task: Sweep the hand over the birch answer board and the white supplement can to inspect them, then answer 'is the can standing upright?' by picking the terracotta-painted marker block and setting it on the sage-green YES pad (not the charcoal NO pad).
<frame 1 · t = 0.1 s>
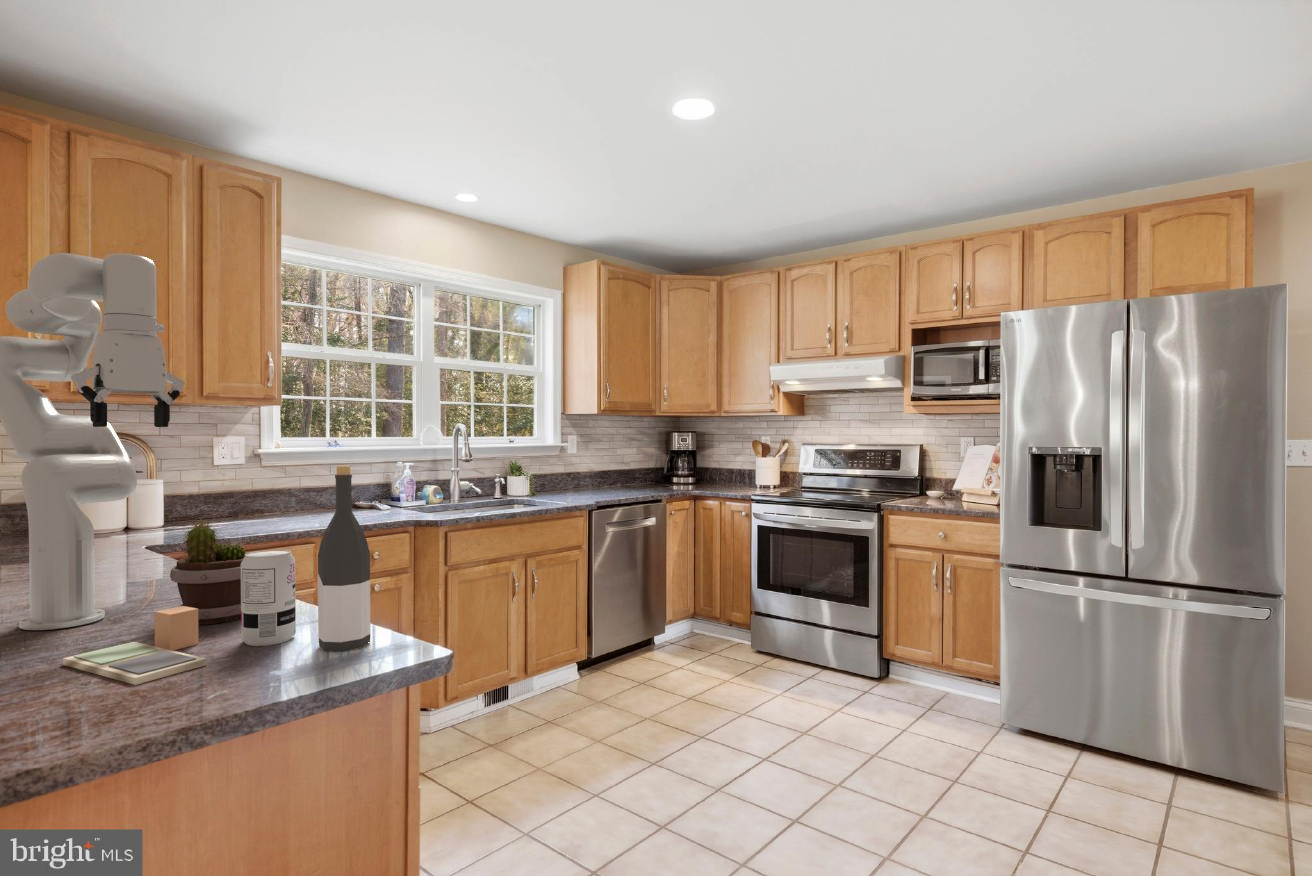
hand: (131, 426, 126), 37 cm above the counter, tool pointing down, fingers open, 9 cm apart
supplement can: (268, 641, 126), on the counter
flowerpot: (216, 619, 141), on the counter
answer board: (134, 664, 112), on the counter
wine bottle: (344, 646, 123), on the counter
marker block: (176, 645, 123), on the counter
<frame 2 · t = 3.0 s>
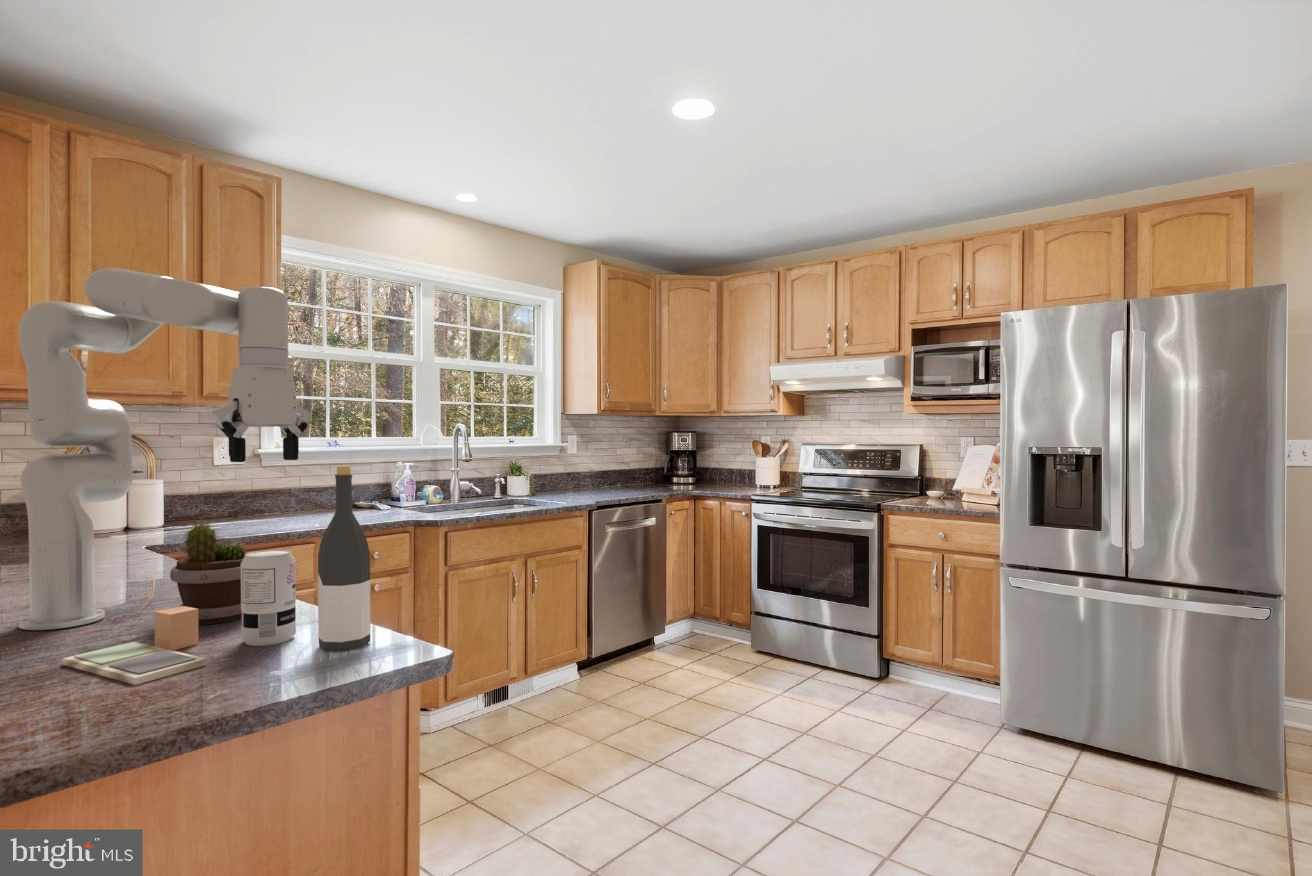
hand: (265, 460, 125), 31 cm above the counter, tool pointing down, fingers open, 9 cm apart
nothing on the counter moved.
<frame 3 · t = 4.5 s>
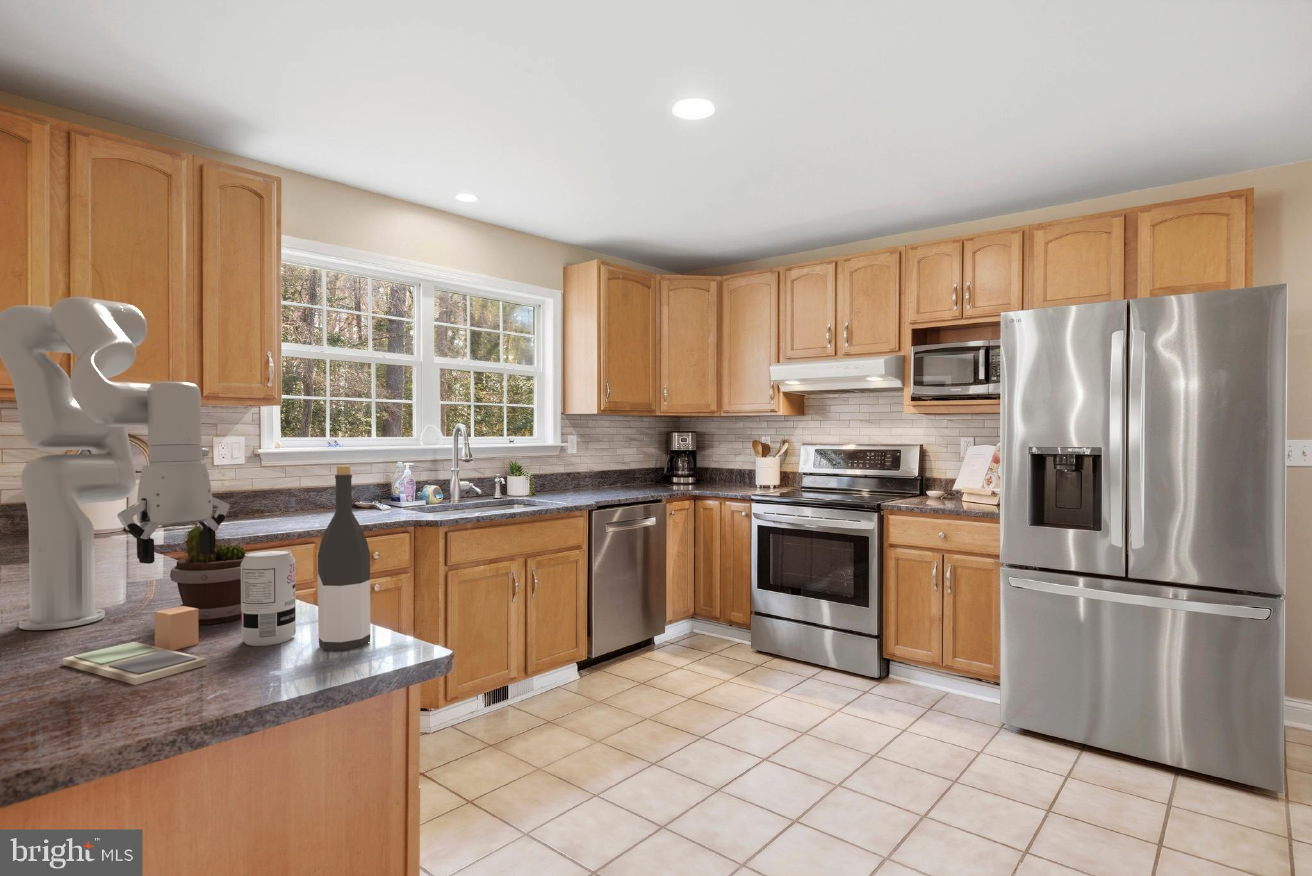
hand: (177, 558, 122), 15 cm above the counter, tool pointing down, fingers open, 9 cm apart
nothing on the counter moved.
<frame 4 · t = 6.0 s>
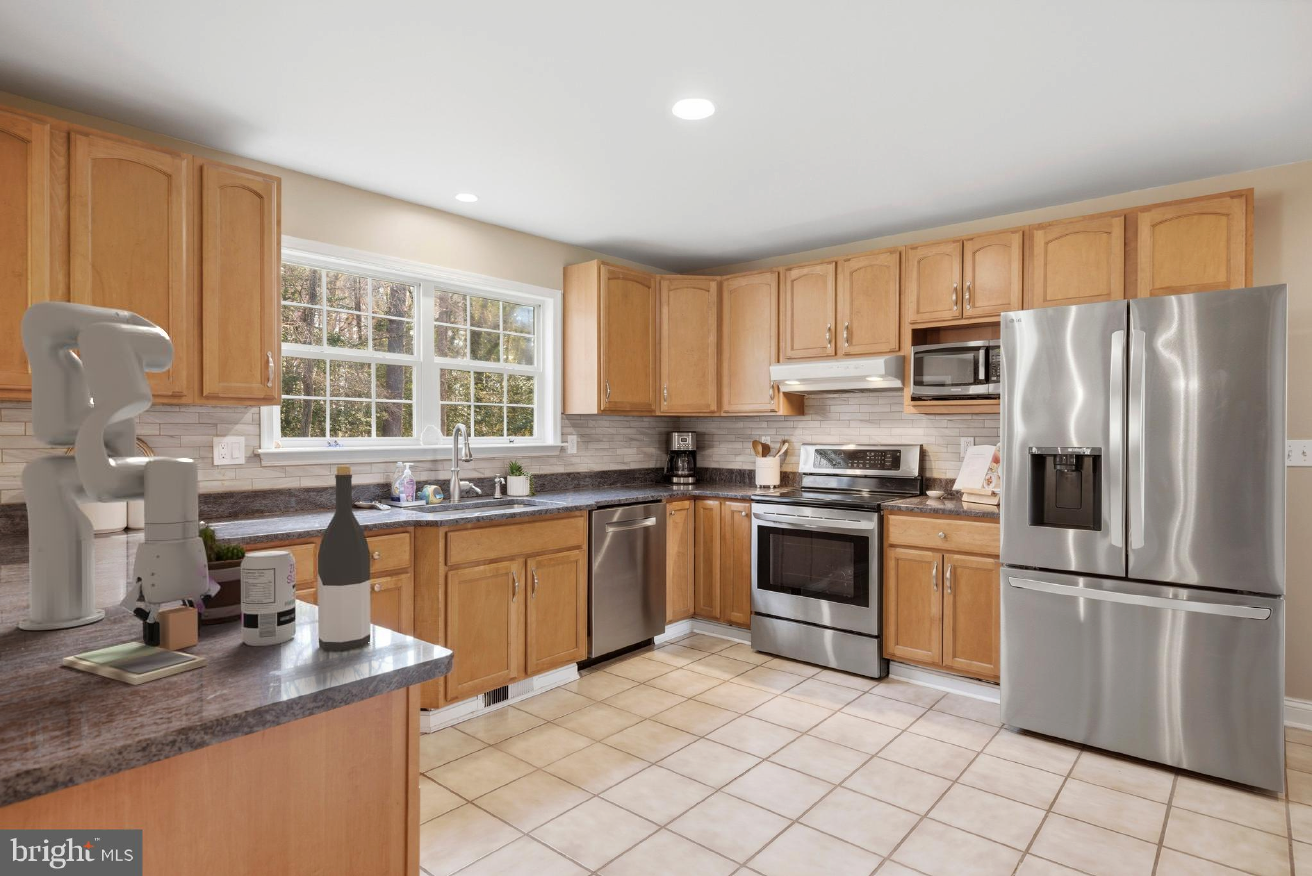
hand: (173, 639, 122), 1 cm above the counter, tool pointing down, fingers open, 5 cm apart
marker block: (176, 645, 123), on the counter, touching gripper
everything else where it was.
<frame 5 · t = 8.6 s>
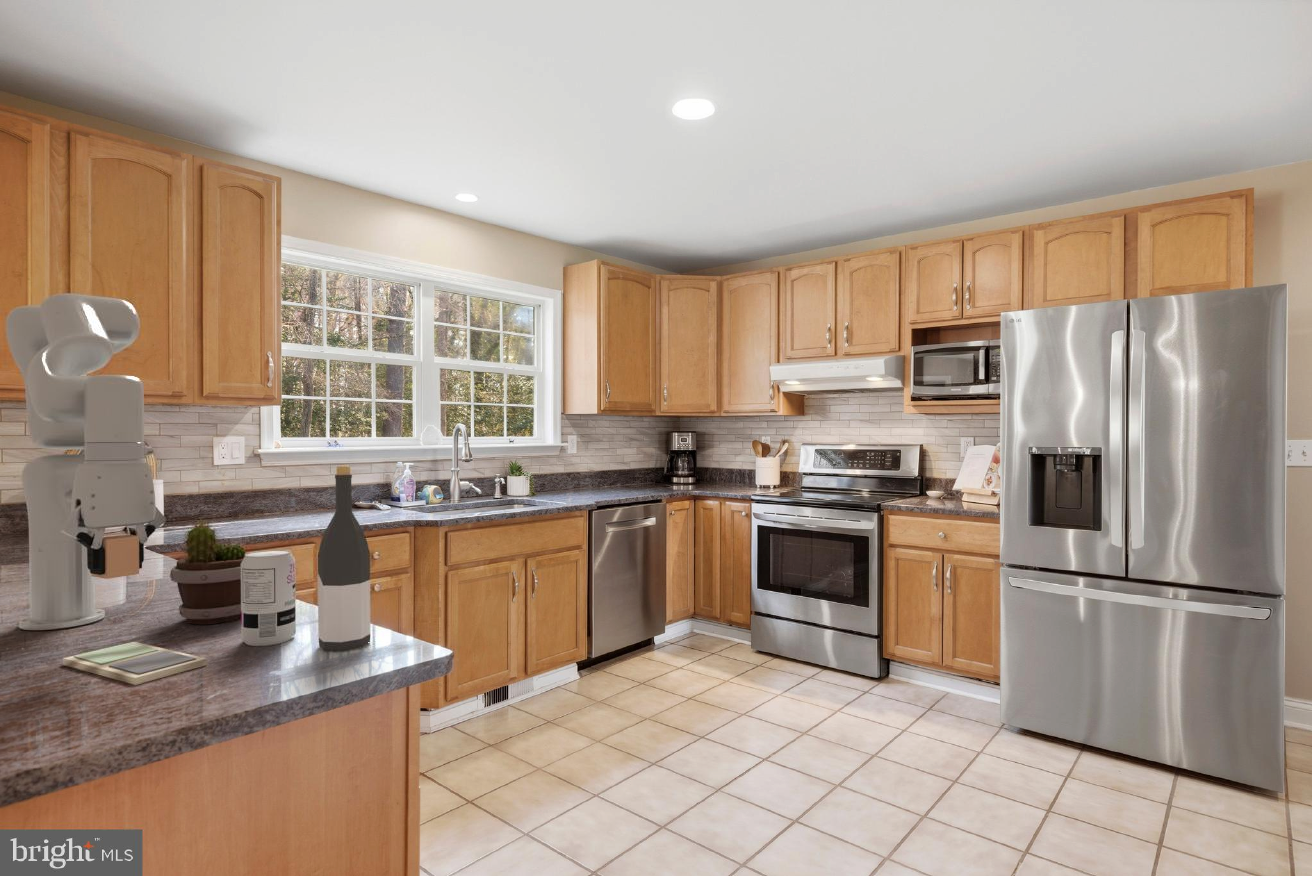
hand: (116, 569, 114), 14 cm above the counter, tool pointing down, fingers closed on marker block, 4 cm apart
marker block: (115, 575, 115), point 13 cm above the counter, touching gripper
everything else where it was.
when the fingers open (3 cm above the counter, at t = 10.9 s): marker block stays where it is, resting on answer board.
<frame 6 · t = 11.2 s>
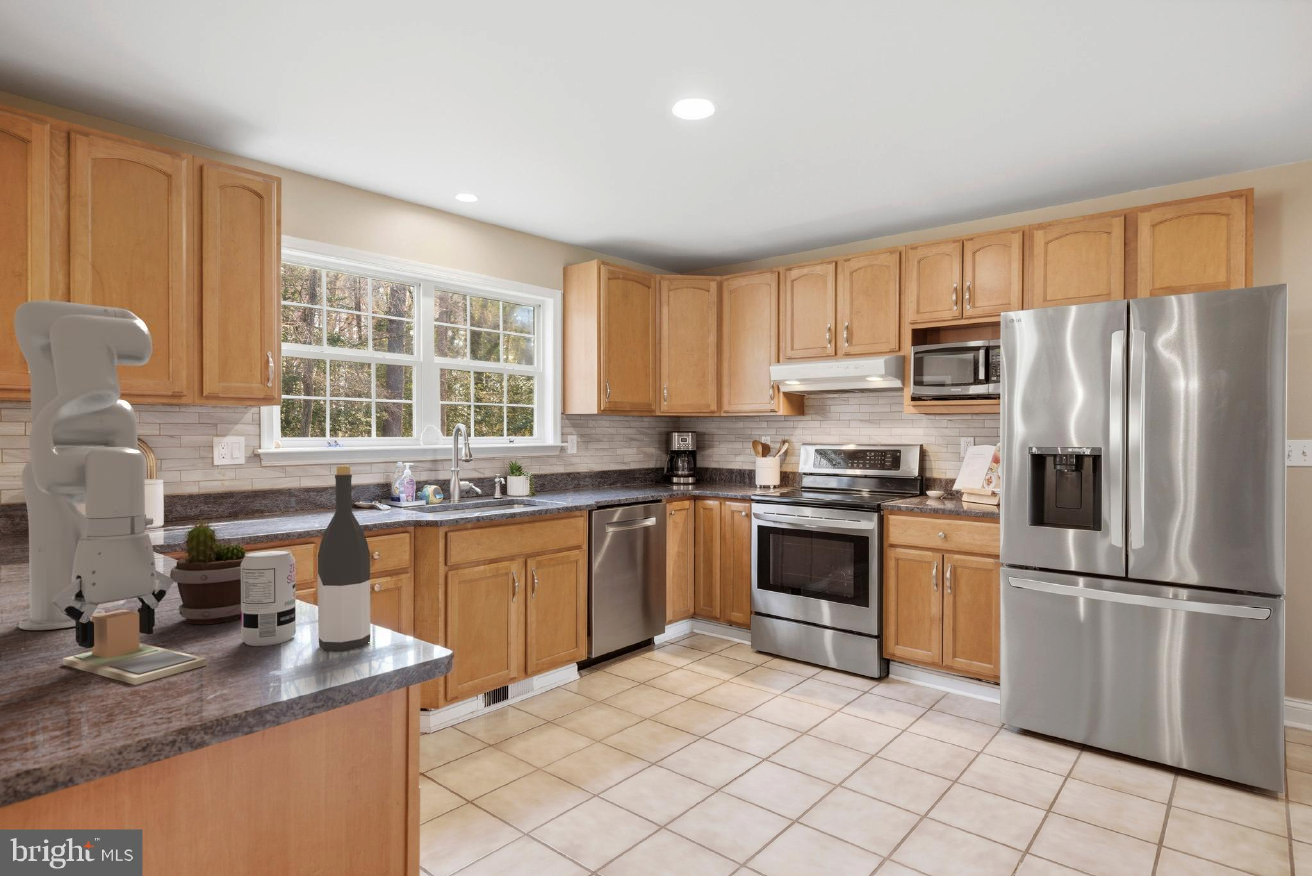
hand: (116, 639, 115), 3 cm above the counter, tool pointing down, fingers open, 7 cm apart
marker block: (115, 652, 115), point 1 cm above the counter, touching answer board
everything else where it was.
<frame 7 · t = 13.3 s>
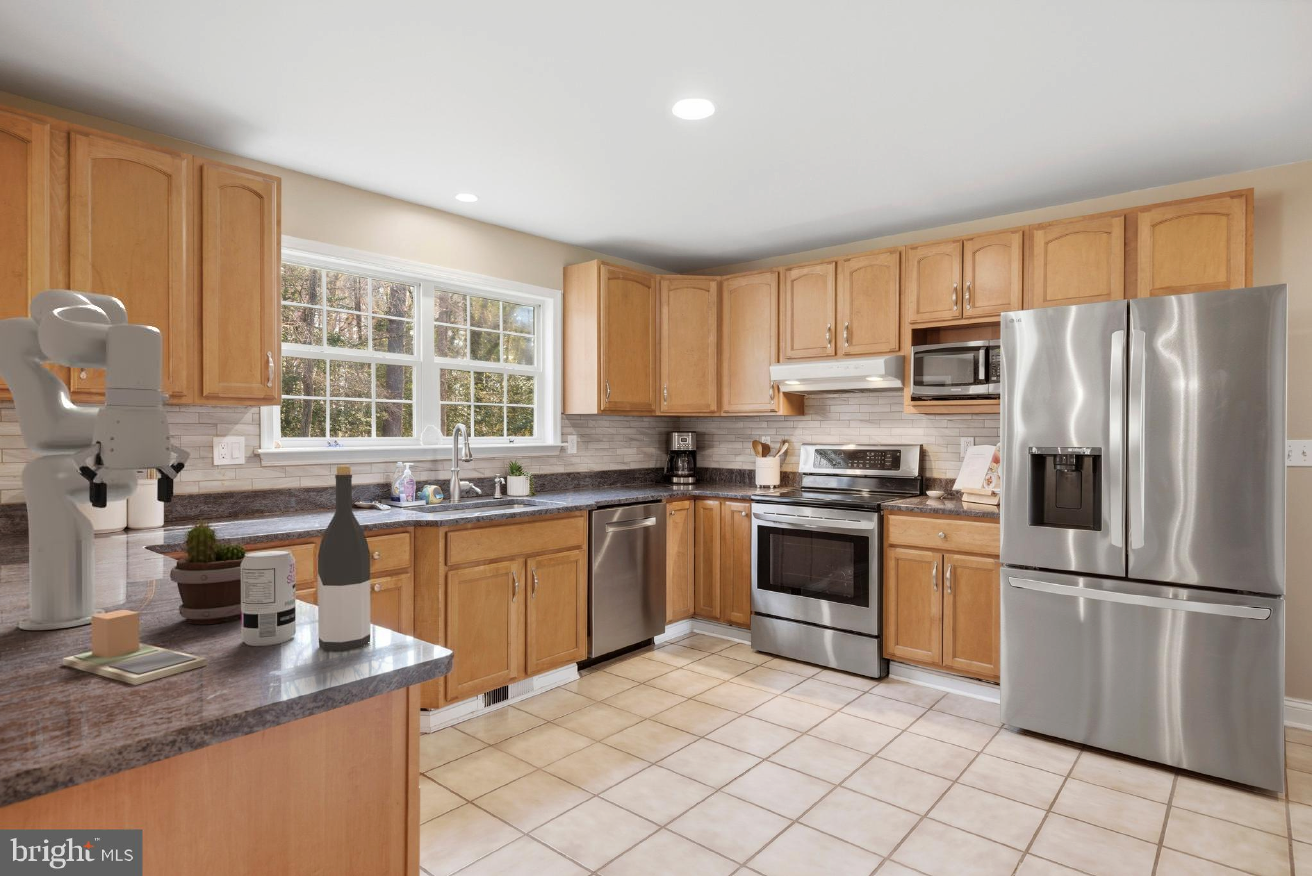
hand: (132, 504, 121), 24 cm above the counter, tool pointing down, fingers open, 9 cm apart
nothing on the counter moved.
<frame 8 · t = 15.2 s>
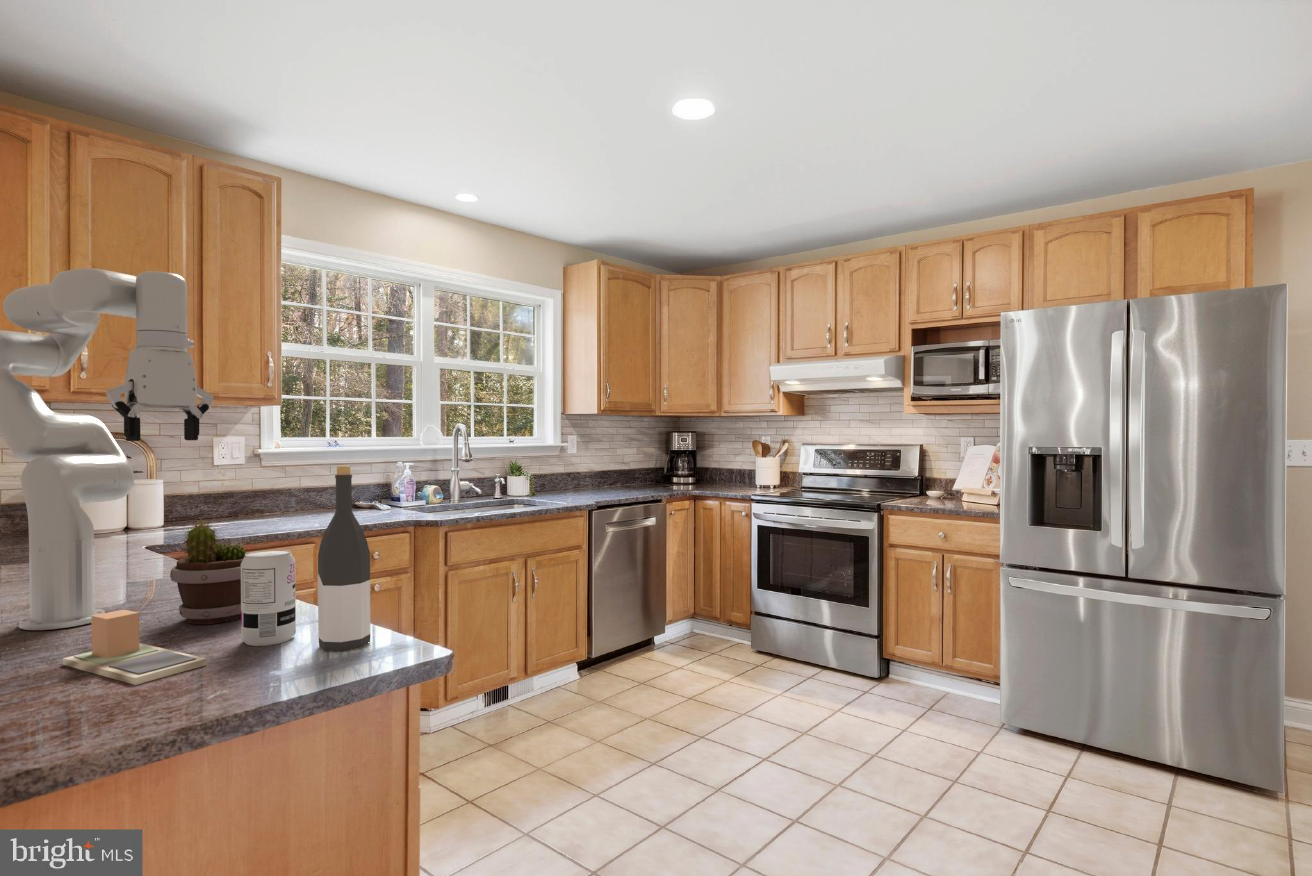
hand: (163, 440, 129), 34 cm above the counter, tool pointing down, fingers open, 9 cm apart
nothing on the counter moved.
at the end: marker block inside the target area on the answer board (0.3 cm from its centre), point 1.2 cm above the answer board's base; marker block tilted 0°; the gripper is holding nothing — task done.
